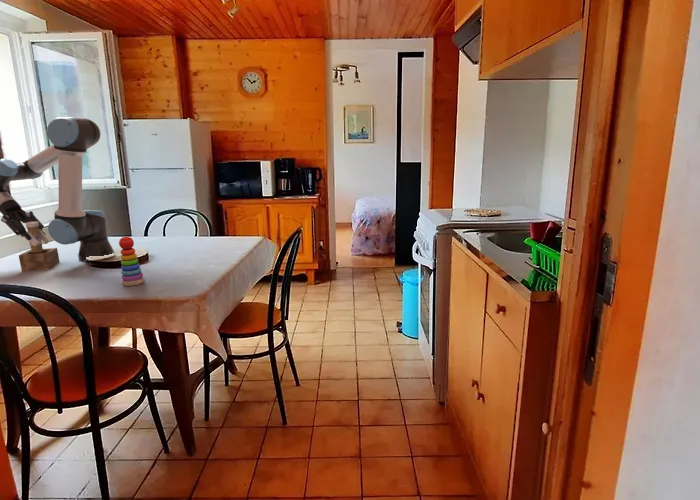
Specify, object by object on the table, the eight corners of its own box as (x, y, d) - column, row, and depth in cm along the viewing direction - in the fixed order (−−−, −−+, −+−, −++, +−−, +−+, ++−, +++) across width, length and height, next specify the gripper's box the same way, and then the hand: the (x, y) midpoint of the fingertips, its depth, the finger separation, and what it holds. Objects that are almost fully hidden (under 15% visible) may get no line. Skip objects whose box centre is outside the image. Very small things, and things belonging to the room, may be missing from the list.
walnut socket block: (59, 262, 204) (57, 247, 202) (50, 268, 193) (47, 253, 192) (32, 264, 201) (29, 249, 199) (21, 271, 191) (18, 255, 189)
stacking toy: (126, 280, 175) (120, 234, 170) (147, 279, 176) (141, 233, 171) (118, 287, 167) (111, 239, 163) (140, 286, 168) (133, 238, 163)
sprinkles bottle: (36, 253, 193) (30, 223, 190) (28, 252, 194) (22, 222, 191) (46, 250, 197) (40, 221, 194) (38, 250, 198) (33, 221, 195)
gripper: (22, 207, 203) (56, 244, 203) (-18, 213, 187) (19, 253, 187) (28, 196, 201) (63, 233, 200) (-11, 201, 184) (27, 241, 184)
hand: (42, 242), depth 194 cm, fingers closed on sprinkles bottle, 4 cm apart
